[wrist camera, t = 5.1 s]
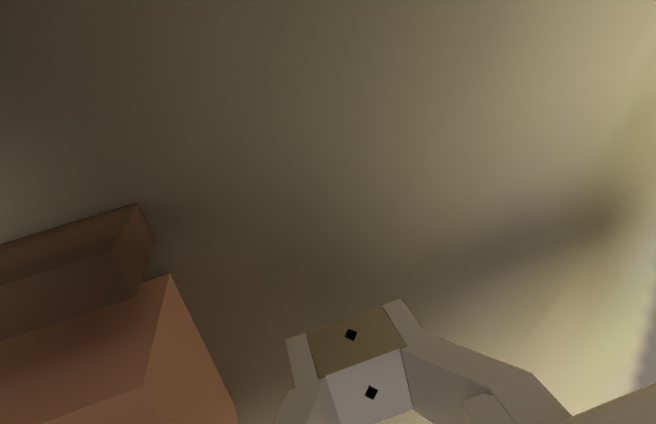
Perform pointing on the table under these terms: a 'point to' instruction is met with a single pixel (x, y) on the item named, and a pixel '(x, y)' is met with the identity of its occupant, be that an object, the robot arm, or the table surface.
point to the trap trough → (72, 270)
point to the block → (115, 367)
